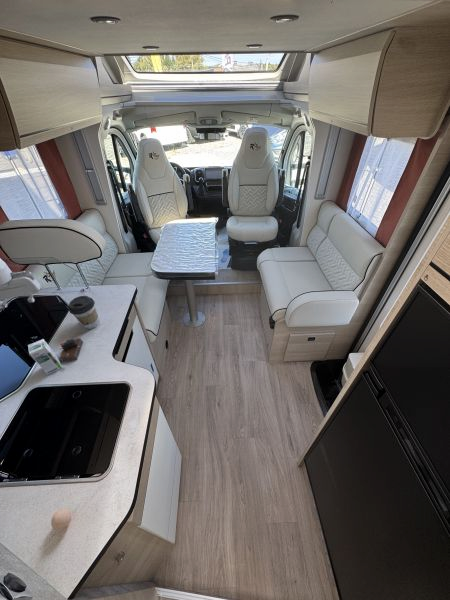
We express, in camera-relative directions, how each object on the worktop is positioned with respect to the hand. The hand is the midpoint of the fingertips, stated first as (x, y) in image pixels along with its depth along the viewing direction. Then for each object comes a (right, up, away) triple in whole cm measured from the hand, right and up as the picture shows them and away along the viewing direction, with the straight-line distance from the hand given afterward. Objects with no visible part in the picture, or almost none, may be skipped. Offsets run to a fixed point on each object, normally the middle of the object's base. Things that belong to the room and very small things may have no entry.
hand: (19, 304), depth 99 cm
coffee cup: (+14, -11, +29) cm, 33 cm away
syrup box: (+7, -27, +10) cm, 30 cm away
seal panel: (+12, -22, +16) cm, 29 cm away
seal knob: (+12, -20, +14) cm, 27 cm away
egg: (+36, -60, -28) cm, 76 cm away
